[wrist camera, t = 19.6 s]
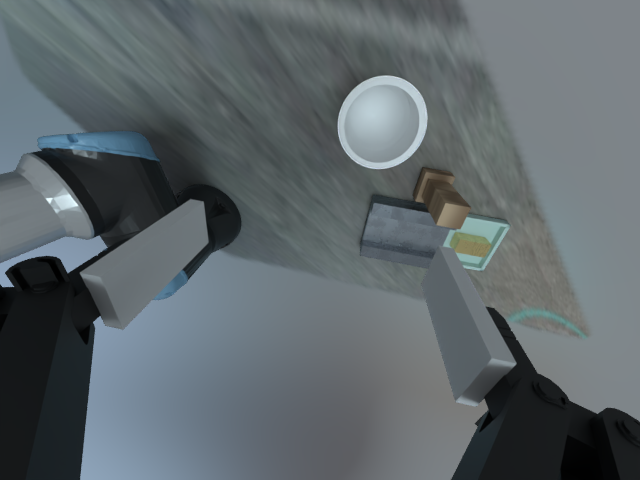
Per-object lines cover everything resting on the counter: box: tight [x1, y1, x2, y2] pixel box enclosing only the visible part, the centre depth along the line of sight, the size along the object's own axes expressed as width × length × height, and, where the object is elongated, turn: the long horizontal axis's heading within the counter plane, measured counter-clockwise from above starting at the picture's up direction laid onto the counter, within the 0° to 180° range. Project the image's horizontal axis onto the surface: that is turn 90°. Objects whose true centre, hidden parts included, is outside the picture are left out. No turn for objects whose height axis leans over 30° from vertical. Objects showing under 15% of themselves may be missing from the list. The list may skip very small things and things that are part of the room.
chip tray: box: [443, 214, 511, 271], centre depth 52 cm, size 10×11×2 cm
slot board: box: [360, 195, 457, 268], centre depth 51 cm, size 16×12×4 cm
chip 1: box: [450, 232, 476, 255], centre depth 51 cm, size 3×3×3 cm
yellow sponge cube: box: [469, 235, 492, 258], centre depth 51 cm, size 3×3×3 cm
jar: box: [338, 75, 427, 169], centre depth 37 cm, size 11×10×15 cm
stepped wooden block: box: [413, 167, 471, 229], centre depth 42 cm, size 5×6×14 cm
